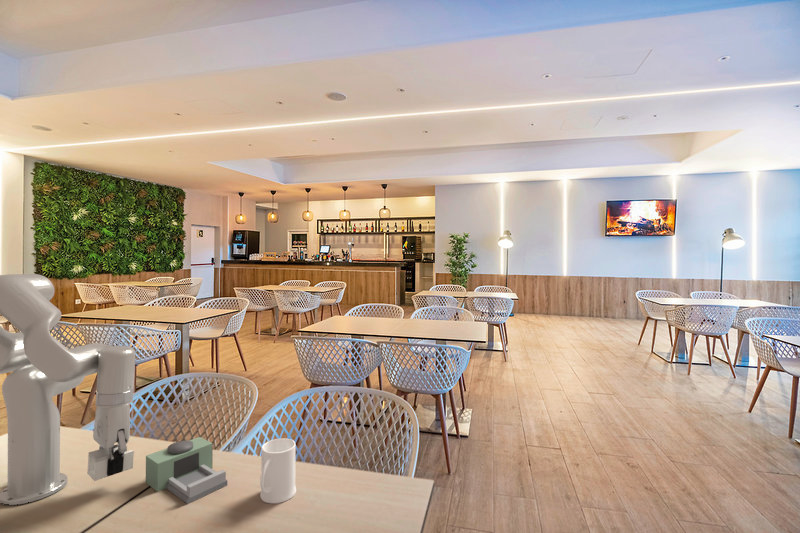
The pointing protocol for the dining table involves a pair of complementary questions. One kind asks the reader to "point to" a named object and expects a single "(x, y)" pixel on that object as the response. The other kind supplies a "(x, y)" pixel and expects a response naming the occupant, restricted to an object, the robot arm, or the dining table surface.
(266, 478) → the mug
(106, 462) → the white box on legs
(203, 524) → the dining table surface
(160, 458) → the toy coffee machine
